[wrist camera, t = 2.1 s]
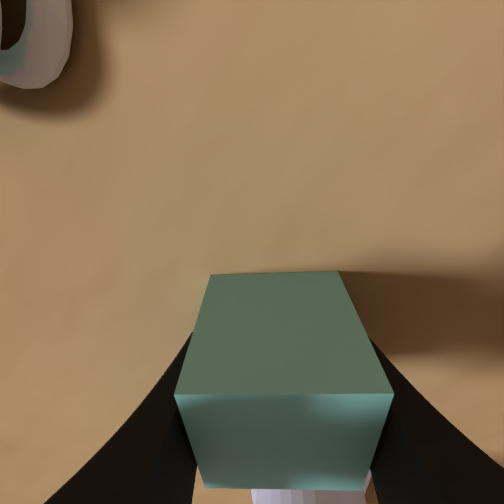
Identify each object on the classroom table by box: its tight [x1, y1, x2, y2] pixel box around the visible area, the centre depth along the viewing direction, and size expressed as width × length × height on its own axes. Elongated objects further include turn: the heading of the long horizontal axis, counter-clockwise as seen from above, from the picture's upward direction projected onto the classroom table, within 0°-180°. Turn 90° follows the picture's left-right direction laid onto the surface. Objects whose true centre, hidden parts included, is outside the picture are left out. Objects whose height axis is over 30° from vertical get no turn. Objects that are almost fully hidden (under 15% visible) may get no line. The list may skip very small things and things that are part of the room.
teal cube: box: [174, 271, 394, 491], centre depth 9 cm, size 5×5×5 cm
